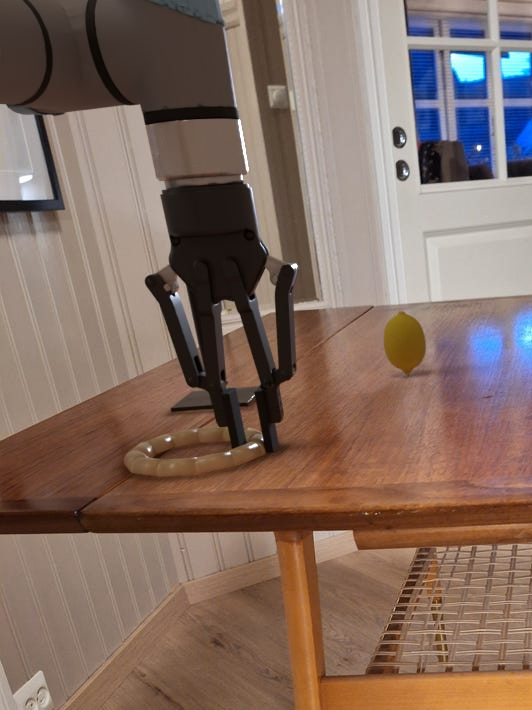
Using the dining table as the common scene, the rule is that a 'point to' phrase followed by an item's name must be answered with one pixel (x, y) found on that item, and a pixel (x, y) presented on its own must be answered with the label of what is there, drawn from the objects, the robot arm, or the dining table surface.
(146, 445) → the lying ring
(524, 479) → the dining table surface
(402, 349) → the lemon
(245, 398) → the black peg stand
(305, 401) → the dining table surface
